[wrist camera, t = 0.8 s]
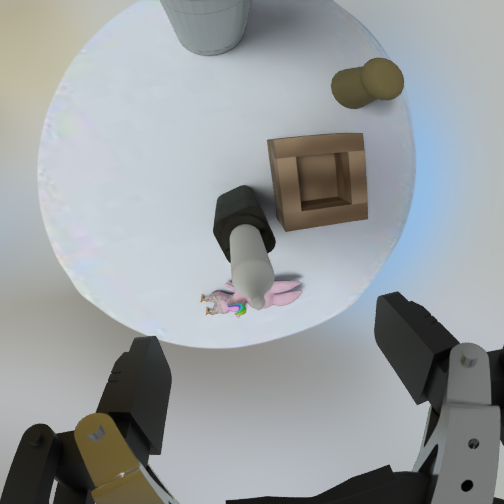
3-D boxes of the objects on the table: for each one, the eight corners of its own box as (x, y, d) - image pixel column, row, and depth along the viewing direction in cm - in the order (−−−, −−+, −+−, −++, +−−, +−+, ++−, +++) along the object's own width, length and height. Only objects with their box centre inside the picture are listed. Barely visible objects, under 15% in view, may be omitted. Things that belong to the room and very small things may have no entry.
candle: (213, 198, 39) (197, 288, 16) (248, 182, 39) (283, 250, 16) (230, 230, 41) (238, 351, 18) (263, 215, 41) (313, 320, 17)
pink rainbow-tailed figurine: (212, 313, 47) (303, 298, 45) (205, 336, 42) (307, 321, 39) (200, 280, 45) (297, 262, 43) (190, 302, 40) (300, 283, 37)
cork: (346, 116, 36) (385, 111, 26) (322, 80, 34) (355, 62, 24) (376, 98, 35) (420, 90, 25) (355, 63, 33) (393, 45, 23)
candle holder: (266, 139, 37) (274, 139, 31) (344, 133, 37) (362, 133, 31) (277, 218, 41) (285, 231, 35) (350, 208, 41) (367, 219, 36)
